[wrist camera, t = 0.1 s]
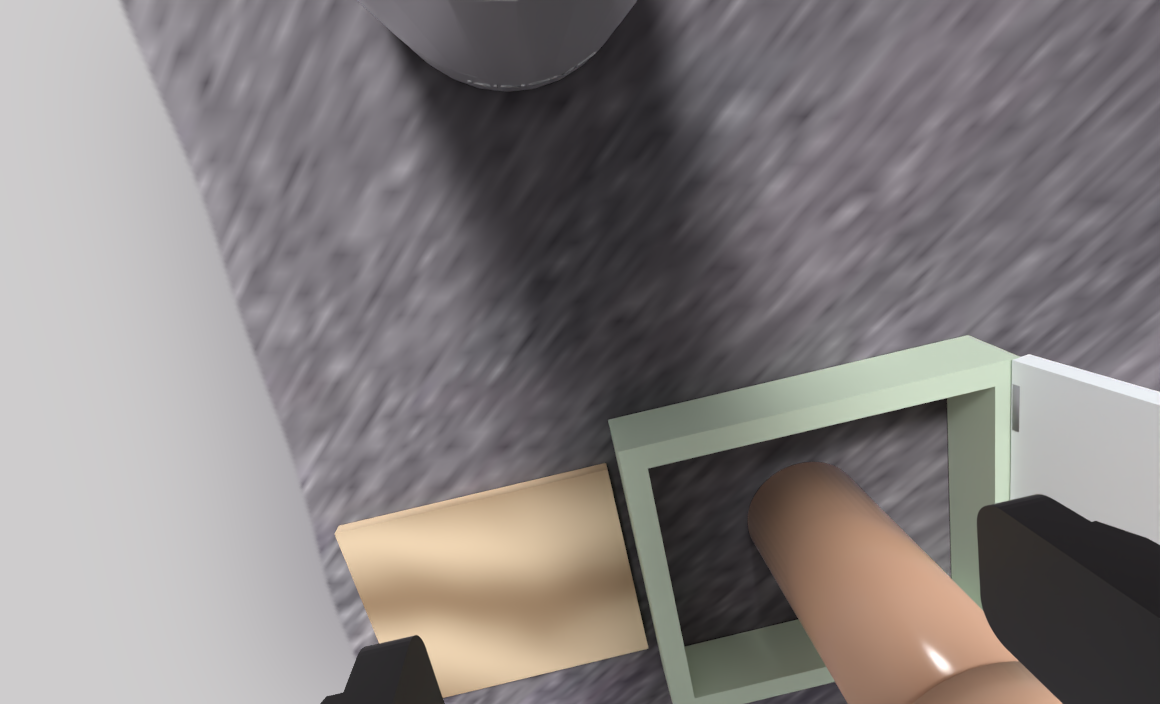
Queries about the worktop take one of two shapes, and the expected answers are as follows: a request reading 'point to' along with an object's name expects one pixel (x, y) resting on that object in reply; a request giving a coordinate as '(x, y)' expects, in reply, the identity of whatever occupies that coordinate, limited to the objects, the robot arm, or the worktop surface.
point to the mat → (502, 579)
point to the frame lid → (1086, 444)
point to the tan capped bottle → (878, 599)
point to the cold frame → (793, 405)
